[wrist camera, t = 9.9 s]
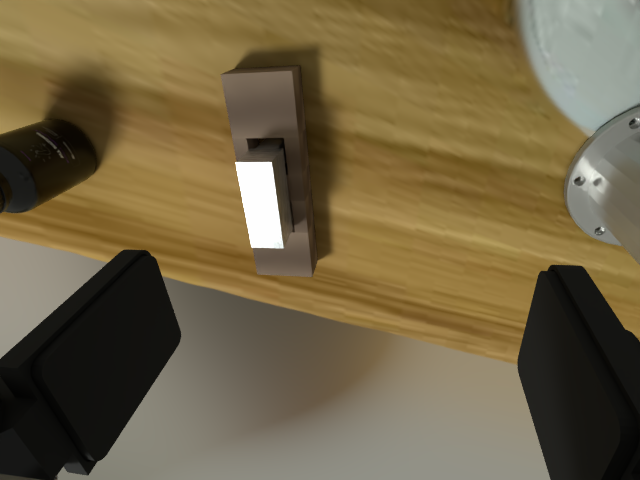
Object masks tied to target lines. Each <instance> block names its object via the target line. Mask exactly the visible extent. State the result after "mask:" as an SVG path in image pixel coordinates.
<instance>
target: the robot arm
mask: <svg viewBox="0 0 640 480" xmlns="http://www.w3.org/2000/svg"><path fill="white" fill-rule="evenodd" d="M632 119H633V121H632V122H631V123H630V121H631V120H632ZM577 177H578V179H576V178H577ZM575 179H576V180H575ZM564 198H565V204H566V207H567V209H568V212H569V214H570V216H571V217H572V218H573V220H574V221H575V223H576V224H577V225H578V226H579V227H580V228H581V229H582V230H583V231H584V232H585V233H587V234H588V235H590V236H591V237H593V238H595V239H597V240H600V241H603V242H605V243H609V244H614V245H619V246H623V247H624V248H625V249H626V250H627V251H628V253H629V254H630V255H631V256H632V257H633V258H634V259H635V260H636V262H637V263H638V264H639V265H640V107H637V108H634V109H632V110H630V111H628V112H626V113H624V114H622V115H620V116H618V117H616V118H614V119H613V120H611V121H610V122H608V123H607V124H606V125H604V126H603V127H601V128H600V129H599V130H598V131H597V132H595V133H594V134H593V135H592V136H591V137H590V138H589V139H588V140H587V141H586V142H585V143H584V145H583V146H582V147H581V149H580V150H579V151H578V152H577V154H576V155H575V157H574V159H573V161H572V163H571V165H570V166H569V169H568V172H567V175H566V179H565V185H564ZM180 339H181V331H180V328H179V325H178V322H177V319H176V316H175V313H174V310H173V308H172V304H171V302H170V298H169V295H168V293H167V290H166V287H165V284H164V281H163V278H162V275H161V272H160V269H159V266H158V263H157V261H156V259H155V257H153V256H151V254H150V253H149V252H148V251H146V250H123V251H121V252H120V253H119V254H118V255H116V256H115V257H114V258H113V259H112V260H111V261H110V262H109V263H107V264H106V265H105V266H104V267H103V268H102V269H101V270H100V271H99V272H98V273H96V274H95V275H94V276H93V277H92V278H91V279H90V280H89V281H88V282H86V283H85V284H84V285H83V286H82V287H81V288H79V289H78V290H77V291H76V292H75V293H74V294H73V295H72V296H70V297H69V298H68V299H67V300H66V301H65V302H64V303H63V304H61V305H60V306H59V307H58V308H57V309H56V310H55V311H54V312H53V313H51V314H50V315H49V316H48V317H47V318H46V319H45V320H43V321H42V322H41V323H40V324H39V325H38V326H37V327H36V328H34V329H33V330H32V331H31V332H30V333H29V334H28V335H27V336H25V337H24V338H23V339H22V340H21V341H20V342H19V343H18V344H16V345H15V346H14V347H13V348H12V349H11V350H10V351H9V352H8V353H6V354H5V355H4V356H3V357H2V358H1V359H0V480H57V478H58V477H57V474H58V473H59V471H60V470H61V469H62V467H63V466H64V468H65V469H66V471H67V472H70V473H76V474H82V475H89V473H90V472H91V470H92V469H93V467H94V466H95V464H96V463H97V461H100V460H102V459H103V458H104V457H105V456H106V455H107V453H108V452H109V450H110V449H111V447H112V446H113V444H114V443H115V441H116V440H117V438H118V437H119V435H120V433H121V432H122V430H123V429H124V427H125V426H126V424H127V423H128V421H129V420H130V418H131V417H132V415H133V414H134V412H135V411H136V409H137V408H138V406H139V404H140V403H141V401H142V400H143V398H144V397H145V395H146V394H147V392H148V391H149V389H150V388H151V386H152V384H153V383H154V382H155V380H156V378H157V377H158V375H159V374H160V372H161V371H162V369H163V368H164V366H165V365H166V363H167V362H168V360H169V359H170V357H171V356H172V354H173V353H174V351H175V349H176V348H177V346H178V345H179V342H180ZM518 373H519V376H520V380H521V383H522V386H523V390H524V393H525V396H526V399H527V403H528V406H529V409H530V413H531V416H532V419H533V423H534V426H535V429H536V433H537V436H538V439H539V442H540V445H541V449H542V452H543V456H544V459H545V462H546V466H547V469H548V472H549V475H550V479H551V480H640V342H639V340H638V339H637V338H636V337H635V335H634V334H633V333H632V332H630V331H628V330H625V329H624V327H623V325H622V324H621V322H620V321H619V319H618V318H617V316H616V315H615V313H614V312H613V310H612V309H611V307H610V306H609V304H608V303H607V301H606V300H605V298H604V297H603V295H602V294H601V292H600V291H599V289H598V288H597V286H596V285H595V283H594V282H593V280H592V279H591V277H590V276H589V274H588V273H587V271H586V270H585V269H584V268H583V267H582V266H573V265H551V266H550V267H549V269H548V271H541V272H540V273H539V275H538V279H537V283H536V287H535V291H534V295H533V299H532V303H531V307H530V311H529V315H528V319H527V323H526V327H525V331H524V335H523V339H522V344H521V348H520V352H519V356H518Z"/></svg>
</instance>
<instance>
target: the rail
mask: <svg viewBox="0 0 640 480" xmlns="http://www.w3.org/2000/svg"><path fill="white" fill-rule="evenodd" d="M221 79H222V84H223V90H224V95H225V101H226V106H227V112H228V117H229V122H230V128H231V133H232V139H233V144H234V150H235V155H236V160H237V161H238V160H239V159H240V158H241V157H242V156H243V155H244V154H245V153H246V152H247V151H248V150H249V149H255V148H256V147H257V146H258V145H259V139H258V138H284V143H285V152H286V160H287V163H285V169H286V177H287V186H288V194H289V201H291V203H292V211H293V220H292V226H293V230H292V232H291V234H290V236H289V238H288V241H287V243H286V245H285V247H284V248H254V247H253V253H254V258H255V263H256V269H257V274H262V275H283V276H304V277H312V276H313V273H314V270H315V267H316V264H317V249H316V238H315V227H314V215H313V204H312V193H311V181H310V170H309V159H308V148H307V136H306V125H305V114H304V102H303V91H302V80H301V68H300V65H297V66H279V67H260V68H241V69H232V70H230V71H228V72H225V73H223V74H221Z"/></svg>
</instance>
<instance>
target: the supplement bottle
mask: <svg viewBox="0 0 640 480" xmlns="http://www.w3.org/2000/svg"><path fill="white" fill-rule="evenodd" d="M95 167H96V155H95V151H94V149H93V146H92V144H91V142H90V141H89V139H88V138H87V137H86V135H85V134H84V133H83V132H82V131H81V130H79V129H78V128H77V127H76V126H74V125H72V124H71V123H69V122H66V121H63V120H59V119H49V120H45V121H41V122H38V123H35V124H31V125H28V126H25V127H22V128H19V129H16V130H13V131H9V132H6V133H3V134H0V213H2V212H8V213H23V212H27V211H29V210H32V209H34V208H36V207H37V206H39V205H41V204H43V203H45V202H47V201H48V200H50V199H52V198H54V197H56V196H58V195H59V194H61V193H63V192H65V191H67V190H69V189H71V188H72V187H74V186H76V185H78V184H80V183H81V182H83V181H85V180H87V179H88V178H89V177H90V176H91V175H92V174H93V172H94V170H95Z"/></svg>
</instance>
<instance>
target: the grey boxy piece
mask: <svg viewBox="0 0 640 480" xmlns="http://www.w3.org/2000/svg"><path fill="white" fill-rule="evenodd" d="M286 161H287V160H286V152H285V143H284V138H265V139H264V140H263V141H262V142H261V143H260V144H259V145H258V146H257V147H256V148H255V149H249V150H248V151H247V152H246V153H245V154H244V155H243V156H242V157H241V158H240V159H239V160H238V161H237V162H236V167H237V172H238V178H239V183H240V188H241V194H242V199H243V204H244V209H245V215H246V220H247V225H248V231H249V236H250V241H251V247H254V248H284V247H285V245H286V243H287V241H288V238H289V236H290V234H291V232H292V230H293V226H292V220H293V211H292V203H291V201H289V194H288V186H287V177H286V169H285V163H286Z"/></svg>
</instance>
